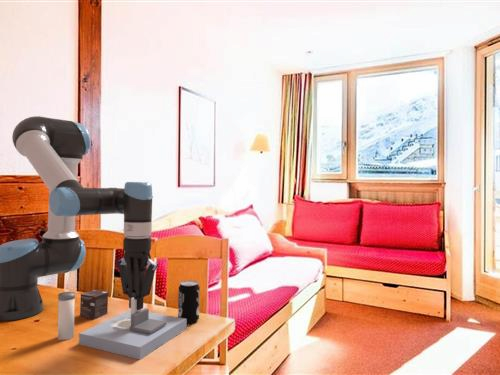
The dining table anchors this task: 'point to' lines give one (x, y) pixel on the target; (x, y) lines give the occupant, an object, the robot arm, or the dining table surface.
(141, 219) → the robot arm
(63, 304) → the plug
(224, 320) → the dining table surface
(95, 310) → the box
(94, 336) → the socket board
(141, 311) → the grey l-shaped block
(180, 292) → the beverage can
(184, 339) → the dining table surface
